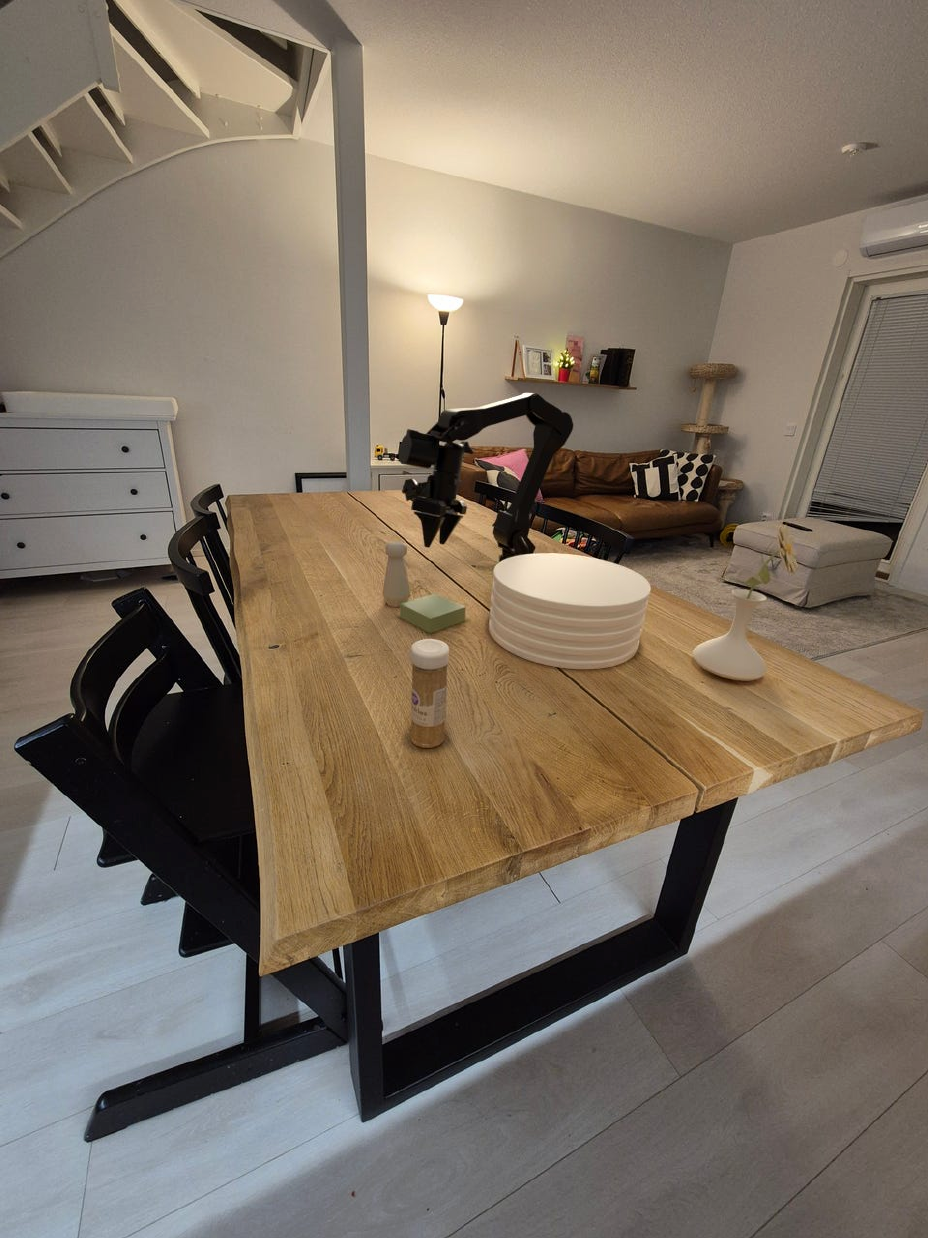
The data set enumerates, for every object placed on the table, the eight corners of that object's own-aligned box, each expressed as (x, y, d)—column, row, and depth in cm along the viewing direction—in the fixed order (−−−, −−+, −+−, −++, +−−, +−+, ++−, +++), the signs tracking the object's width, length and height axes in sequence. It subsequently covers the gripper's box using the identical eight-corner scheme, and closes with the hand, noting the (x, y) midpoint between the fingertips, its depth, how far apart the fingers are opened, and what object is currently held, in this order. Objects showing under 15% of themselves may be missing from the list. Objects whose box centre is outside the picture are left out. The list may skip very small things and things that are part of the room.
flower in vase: (733, 693, 79) (784, 538, 68) (676, 660, 88) (712, 519, 77) (784, 677, 84) (837, 531, 74) (725, 647, 93) (765, 514, 83)
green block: (434, 606, 104) (435, 593, 103) (464, 621, 98) (465, 607, 97) (400, 617, 98) (400, 603, 97) (430, 633, 93) (430, 618, 91)
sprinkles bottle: (402, 738, 64) (402, 645, 59) (427, 723, 68) (429, 634, 62) (428, 755, 62) (430, 659, 56) (452, 738, 65) (457, 646, 59)
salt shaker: (413, 599, 107) (413, 540, 102) (407, 610, 102) (407, 548, 96) (386, 597, 107) (385, 538, 102) (379, 607, 102) (378, 545, 97)
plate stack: (646, 622, 102) (658, 568, 98) (625, 686, 79) (639, 620, 74) (517, 594, 113) (522, 545, 108) (464, 644, 89) (468, 584, 85)
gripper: (427, 469, 116) (417, 535, 121) (393, 462, 99) (382, 540, 103) (472, 477, 114) (460, 545, 118) (445, 472, 96) (432, 552, 100)
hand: (434, 545), depth 110 cm, fingers open, 9 cm apart
